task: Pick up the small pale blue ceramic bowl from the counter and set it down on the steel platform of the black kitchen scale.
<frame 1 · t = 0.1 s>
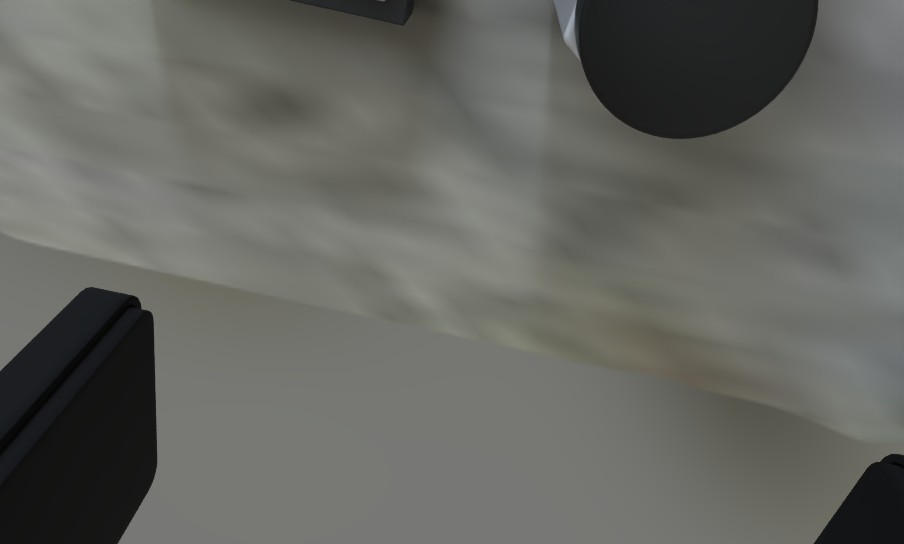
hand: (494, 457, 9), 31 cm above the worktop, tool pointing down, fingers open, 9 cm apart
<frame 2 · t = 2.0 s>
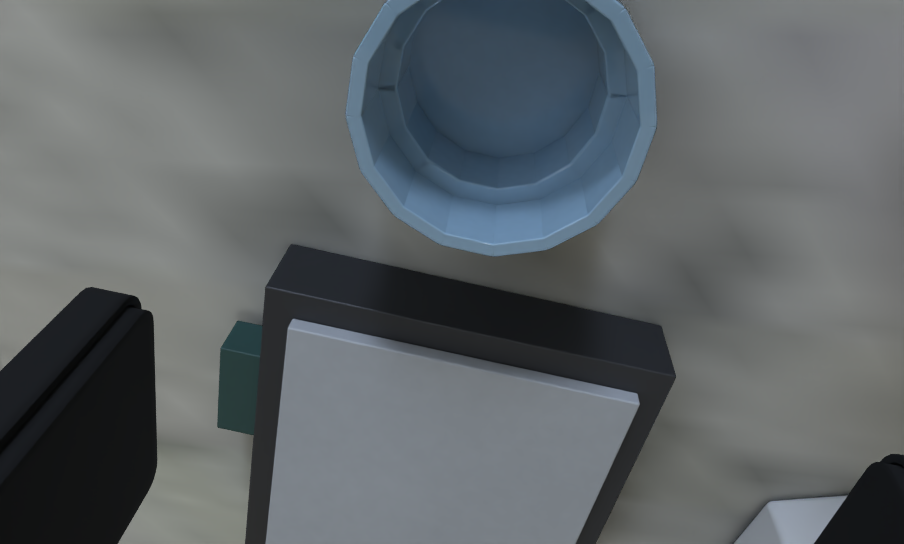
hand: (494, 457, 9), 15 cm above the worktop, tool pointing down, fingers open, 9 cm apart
scale: (440, 422, 29), on the worktop
bowl: (503, 63, 22), on the worktop
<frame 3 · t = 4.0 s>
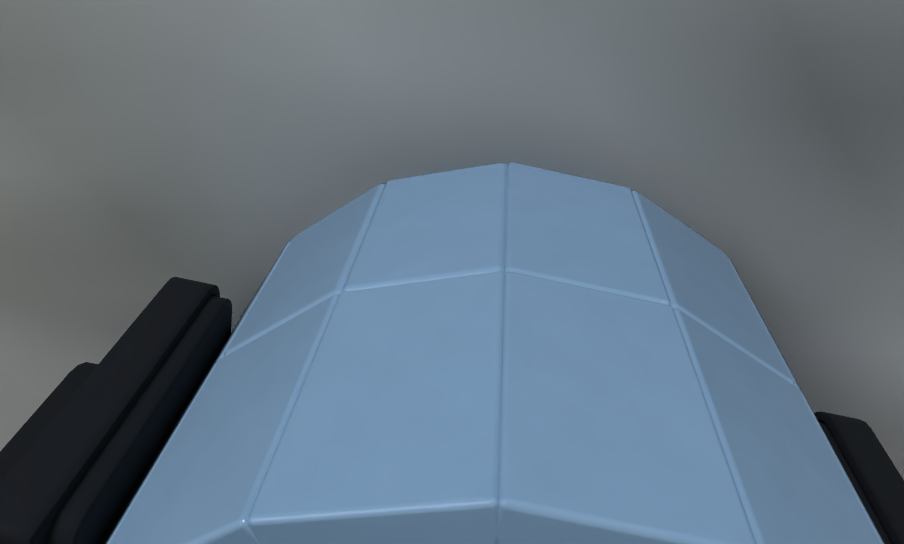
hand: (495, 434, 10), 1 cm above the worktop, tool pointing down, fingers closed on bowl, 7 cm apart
bowl: (498, 388, 10), on the worktop, touching gripper
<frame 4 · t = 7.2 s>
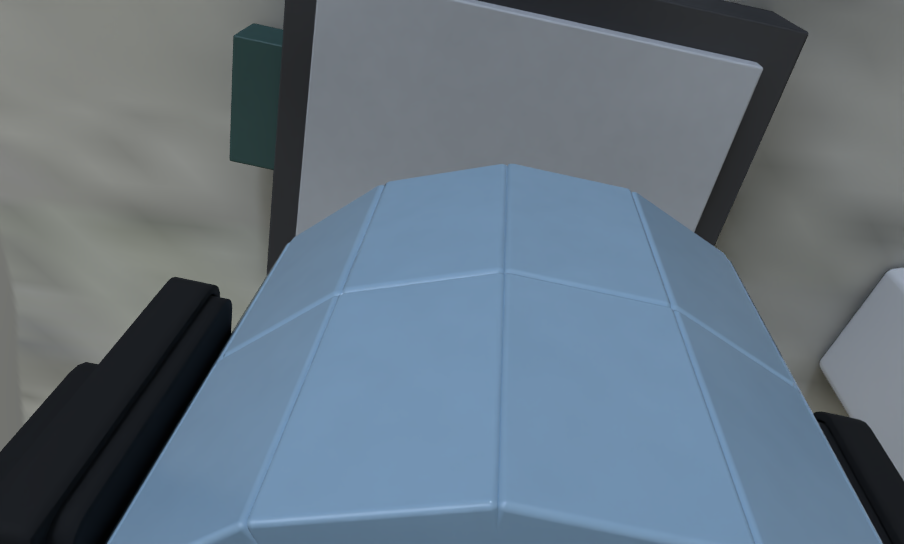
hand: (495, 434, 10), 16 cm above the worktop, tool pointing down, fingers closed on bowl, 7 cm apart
scale: (496, 174, 25), on the worktop
bowl: (497, 388, 10), point 15 cm above the worktop, touching gripper
when the fingers open (5 cm above the worktop, at t = 10.5 s): bowl stays where it is, resting on scale.
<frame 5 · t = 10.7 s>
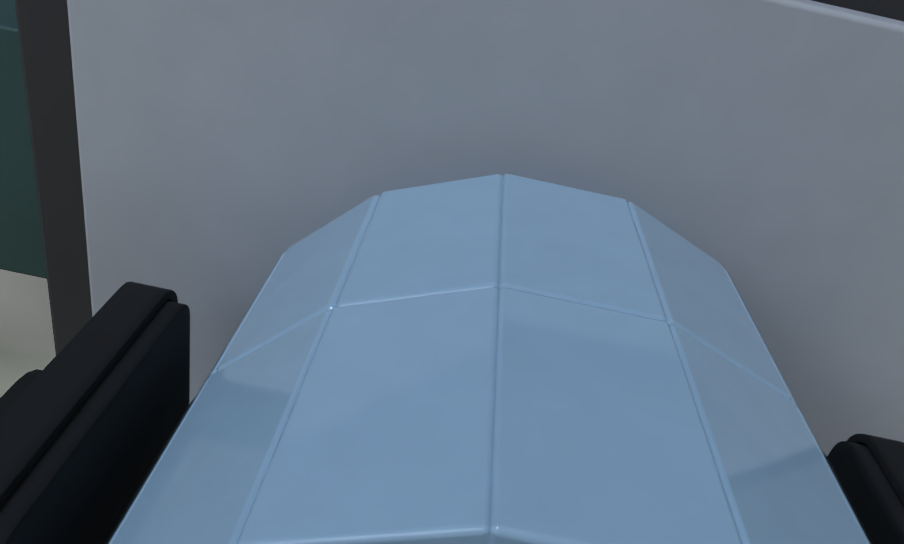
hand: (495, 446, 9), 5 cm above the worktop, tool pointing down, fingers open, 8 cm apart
scale: (500, 273, 13), on the worktop
bowl: (494, 398, 10), point 4 cm above the worktop, touching scale
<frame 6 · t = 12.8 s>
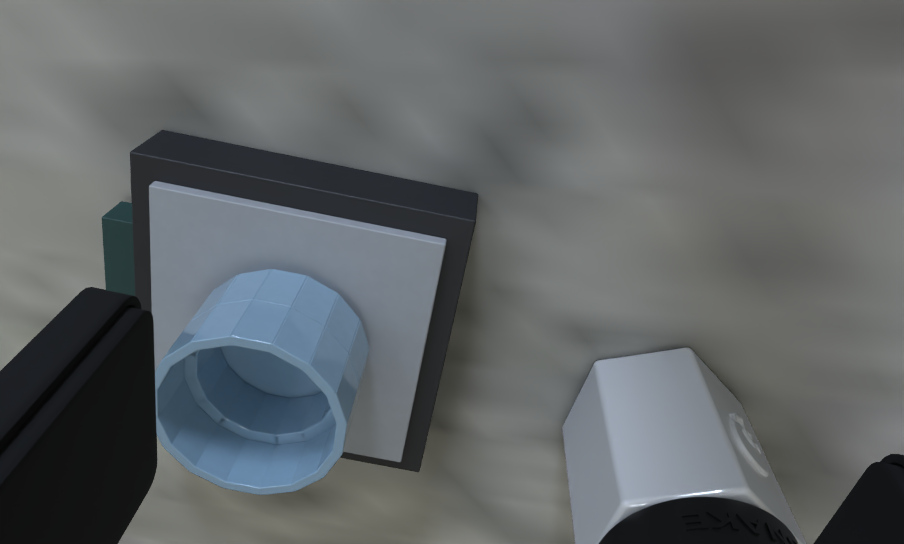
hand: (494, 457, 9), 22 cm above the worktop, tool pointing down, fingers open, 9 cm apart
scale: (307, 296, 34), on the worktop
jar: (648, 411, 36), on the worktop
bowl: (286, 338, 31), point 4 cm above the worktop, touching scale
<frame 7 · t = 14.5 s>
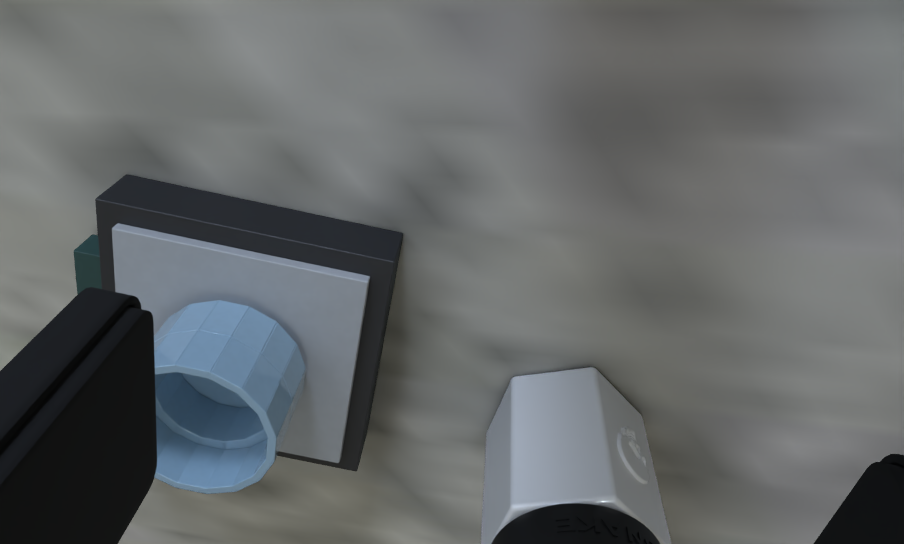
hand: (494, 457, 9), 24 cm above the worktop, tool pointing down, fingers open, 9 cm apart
scale: (258, 317, 38), on the worktop
jar: (562, 420, 41), on the worktop
bowl: (235, 357, 35), point 4 cm above the worktop, touching scale
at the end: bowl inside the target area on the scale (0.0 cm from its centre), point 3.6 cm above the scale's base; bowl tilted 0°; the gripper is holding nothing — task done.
